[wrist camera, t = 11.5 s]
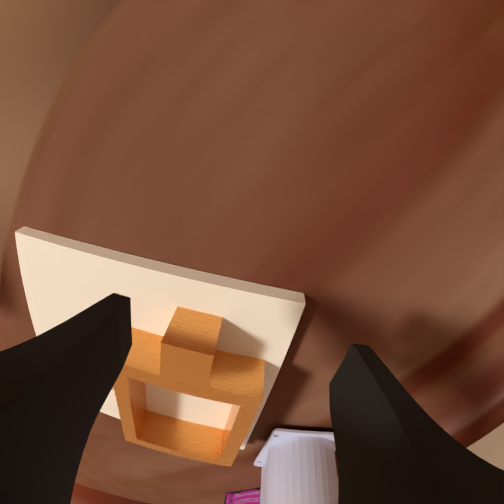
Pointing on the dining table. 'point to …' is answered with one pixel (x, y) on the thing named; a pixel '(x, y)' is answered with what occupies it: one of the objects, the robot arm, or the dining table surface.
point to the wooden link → (188, 388)
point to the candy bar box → (243, 497)
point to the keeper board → (159, 309)
